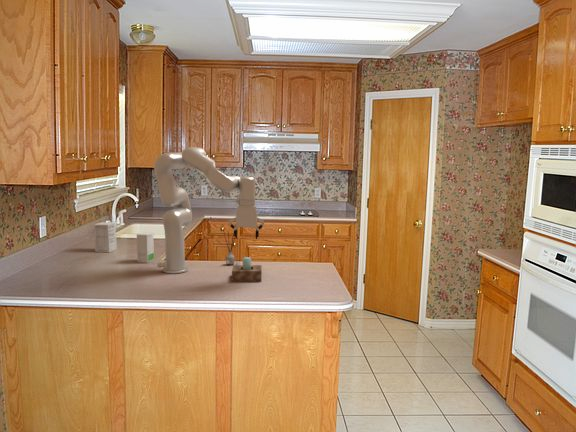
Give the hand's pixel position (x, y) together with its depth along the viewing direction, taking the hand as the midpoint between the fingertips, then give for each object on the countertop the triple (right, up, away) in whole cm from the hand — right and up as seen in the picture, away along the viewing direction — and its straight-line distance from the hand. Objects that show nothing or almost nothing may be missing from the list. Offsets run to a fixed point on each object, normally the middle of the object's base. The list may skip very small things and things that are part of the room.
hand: (246, 238), depth 245 cm
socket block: (0, -20, +3) cm, 20 cm away
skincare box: (-59, -14, +36) cm, 70 cm away
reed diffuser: (-10, -16, +31) cm, 36 cm away
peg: (0, -20, +3) cm, 20 cm away
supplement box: (-90, -11, +63) cm, 110 cm away
